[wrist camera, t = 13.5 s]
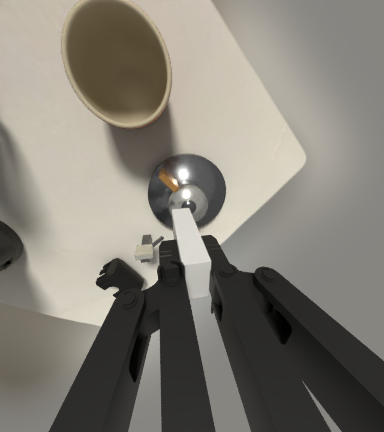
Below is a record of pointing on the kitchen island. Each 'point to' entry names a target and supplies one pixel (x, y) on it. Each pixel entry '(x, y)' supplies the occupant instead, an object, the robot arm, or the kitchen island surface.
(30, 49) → the kitchen island surface
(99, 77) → the planter
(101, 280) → the end cap
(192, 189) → the cover
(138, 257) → the gray post with pin
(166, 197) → the turntable
